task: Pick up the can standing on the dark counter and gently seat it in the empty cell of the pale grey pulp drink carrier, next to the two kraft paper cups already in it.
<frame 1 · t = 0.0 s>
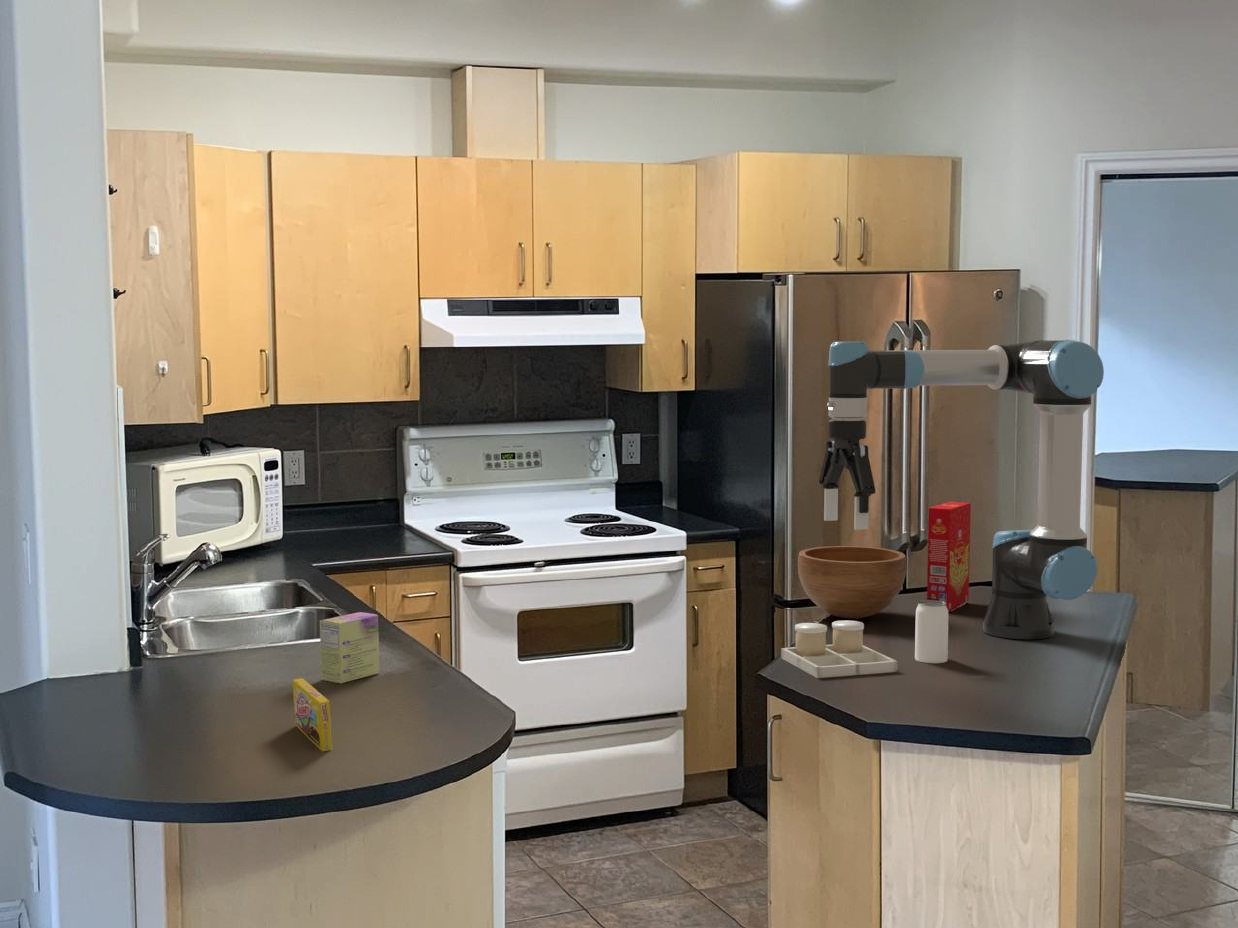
hand: (845, 524, 272), 28 cm above the countertop, fingers open, 13 cm apart
box: (350, 678, 263), on the countertop
carrier: (838, 666, 271), on the countertop
candy box: (312, 739, 223), on the countertop
bowl: (850, 618, 318), on the countertop
paper cup A: (847, 658, 276), resting on carrier
paper cup C: (810, 661, 273), resting on carrier
can: (931, 662, 275), on the countertop
food packaging: (947, 608, 330), on the countertop
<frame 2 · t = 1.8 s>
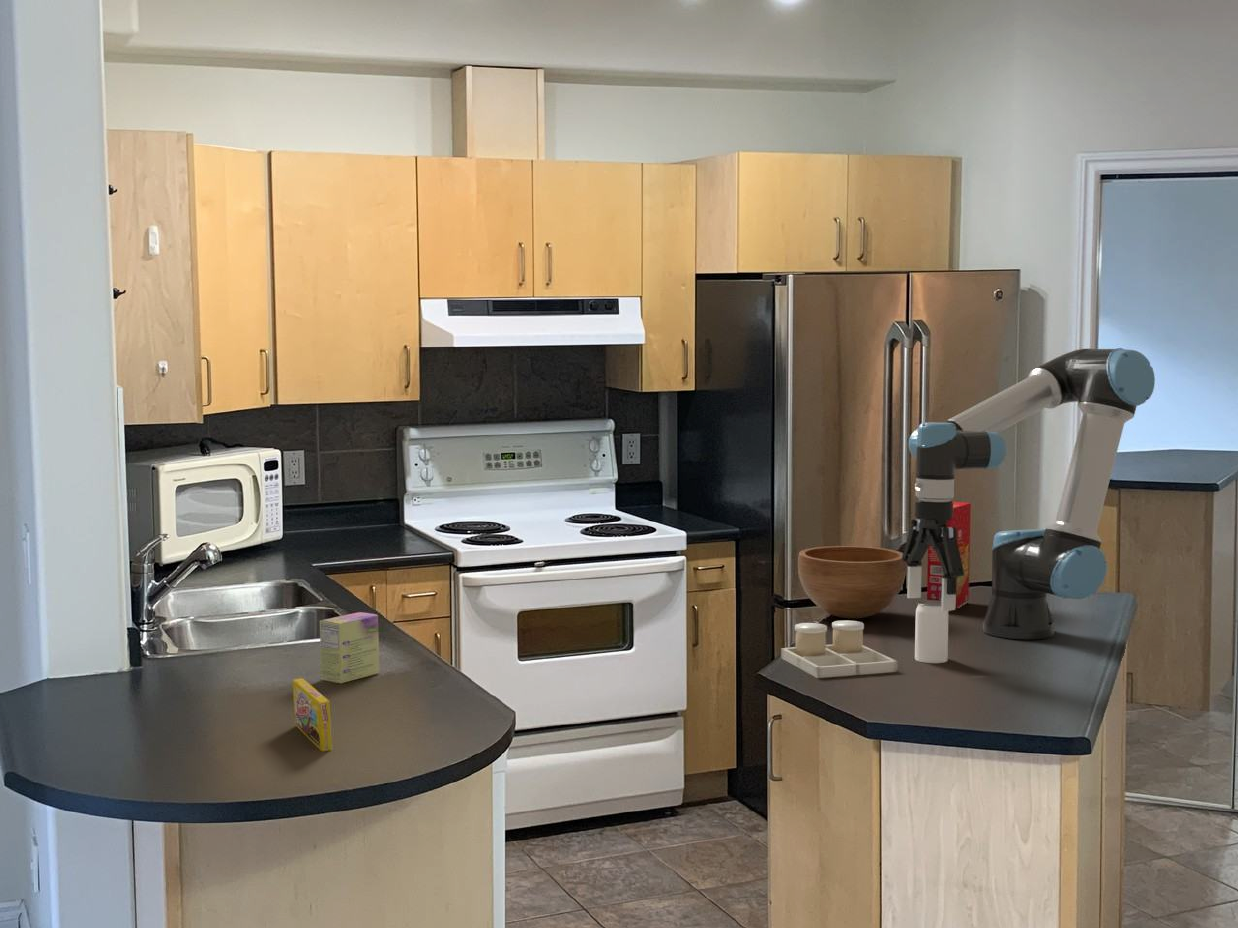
hand: (930, 604, 274), 12 cm above the countertop, fingers open, 13 cm apart
nothing on the countertop moved.
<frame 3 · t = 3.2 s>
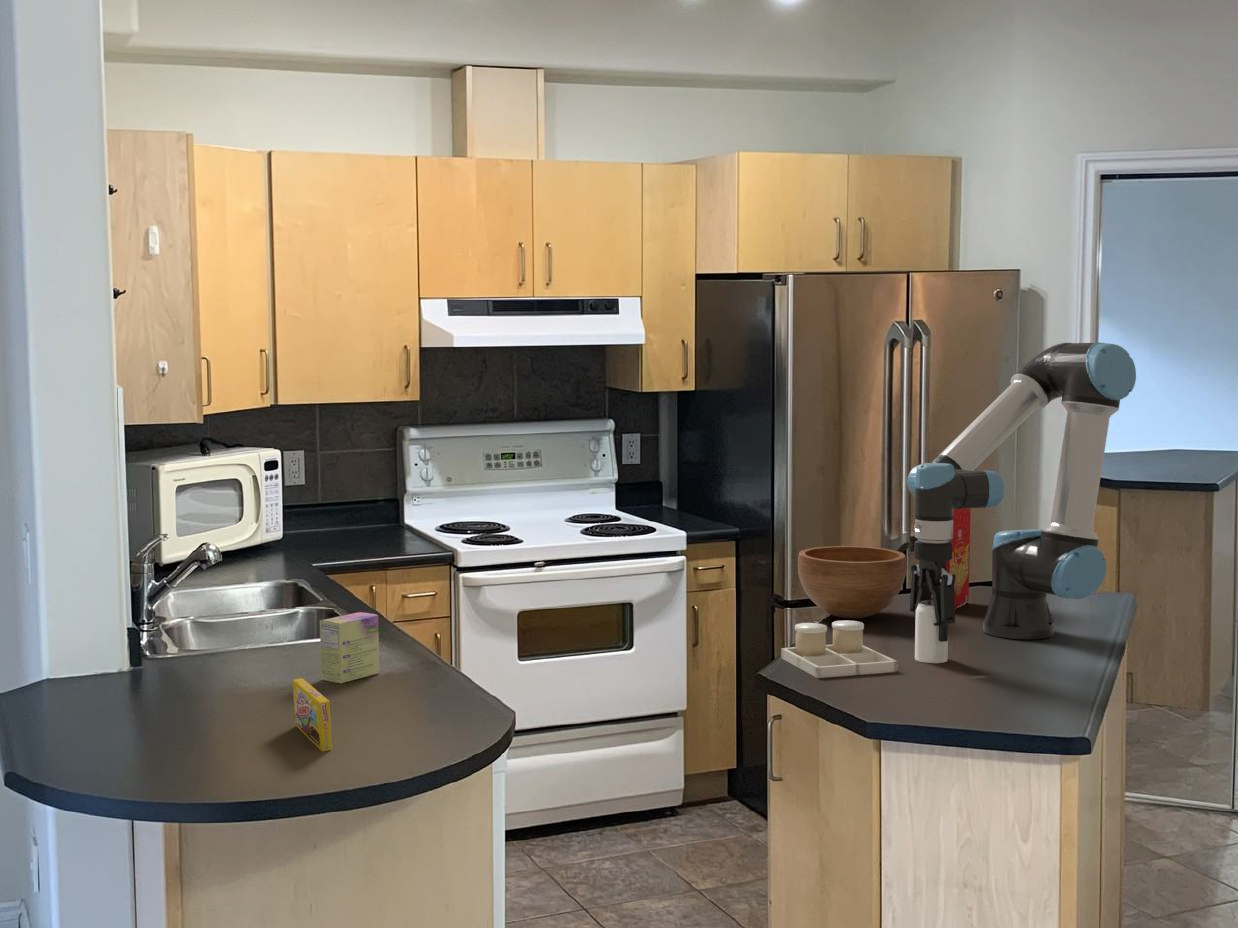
hand: (931, 652, 275), 2 cm above the countertop, fingers closed on can, 6 cm apart
can: (931, 662, 275), on the countertop, touching gripper
everything else where it was.
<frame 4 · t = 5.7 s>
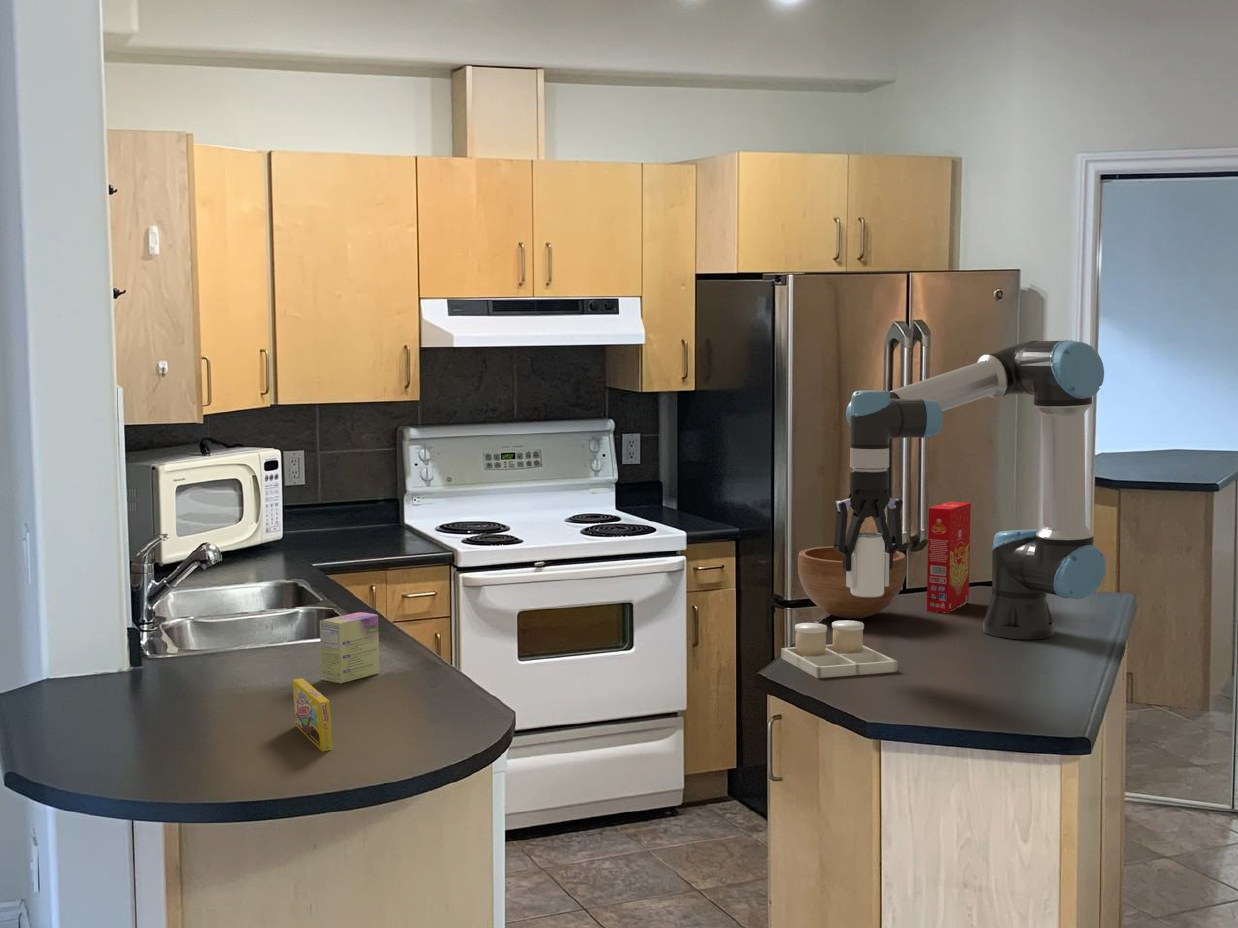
hand: (867, 586, 267), 17 cm above the countertop, fingers closed on can, 6 cm apart
can: (867, 595, 267), point 15 cm above the countertop, touching gripper
everything else where it was.
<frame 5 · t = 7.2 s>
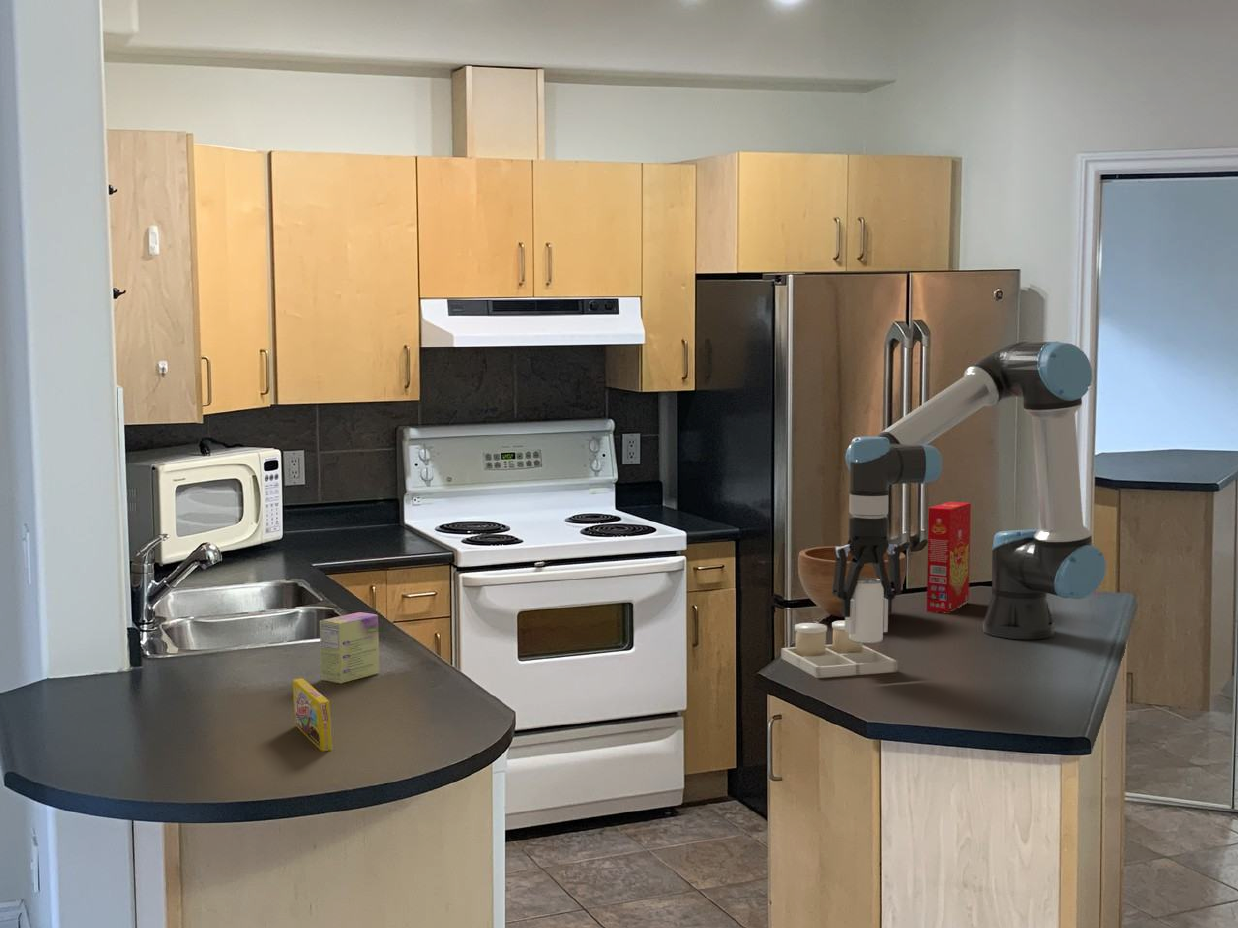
hand: (866, 631, 267), 8 cm above the countertop, fingers closed on can, 6 cm apart
can: (865, 641, 268), point 6 cm above the countertop, touching gripper
everything else where it was.
when the fingers open (4 cm above the countertop, at t = 8.3 s): can drops 2 cm, resting on carrier.
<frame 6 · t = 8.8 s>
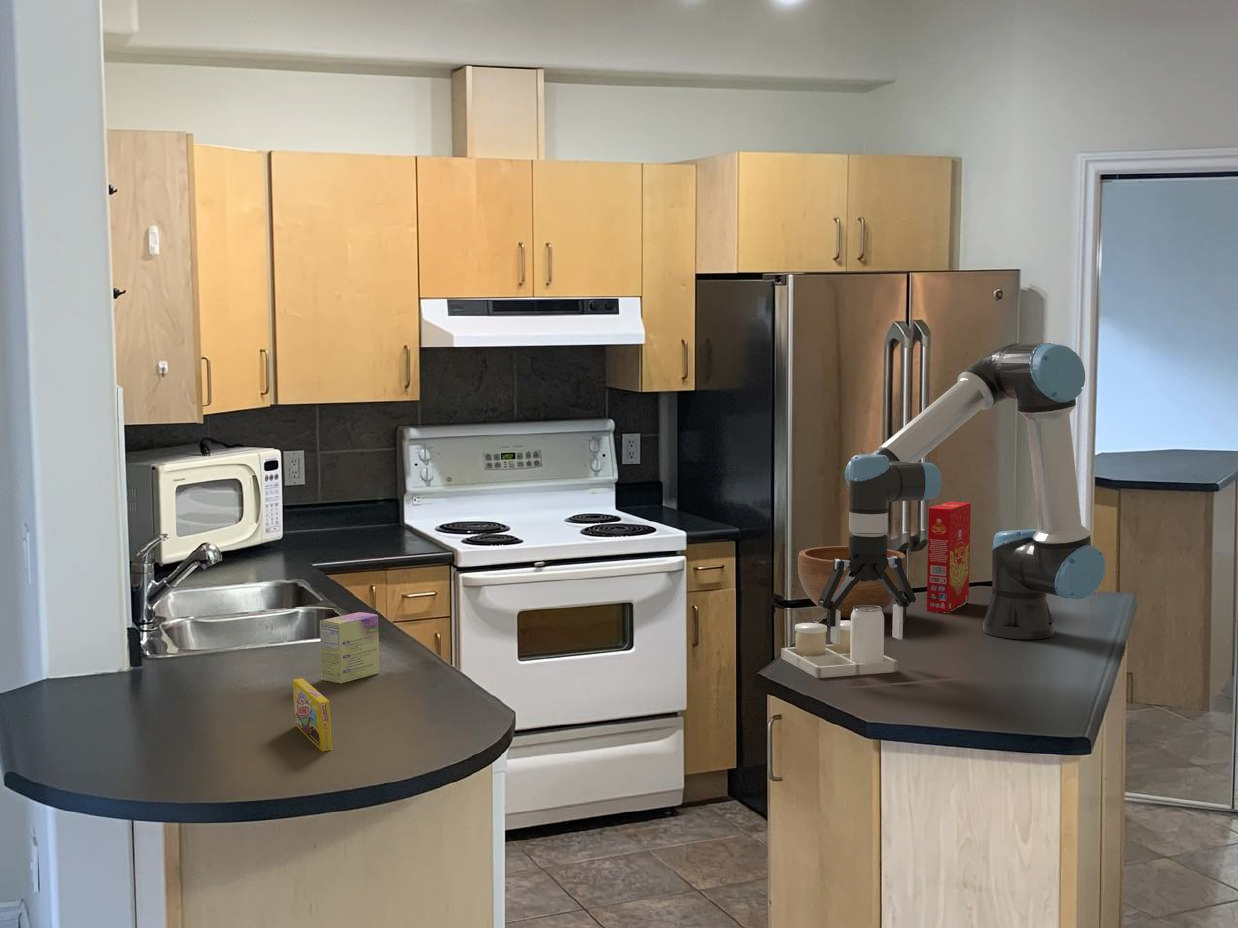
hand: (866, 640, 268), 6 cm above the countertop, fingers open, 13 cm apart
can: (866, 668, 268), resting on carrier
everything else where it was.
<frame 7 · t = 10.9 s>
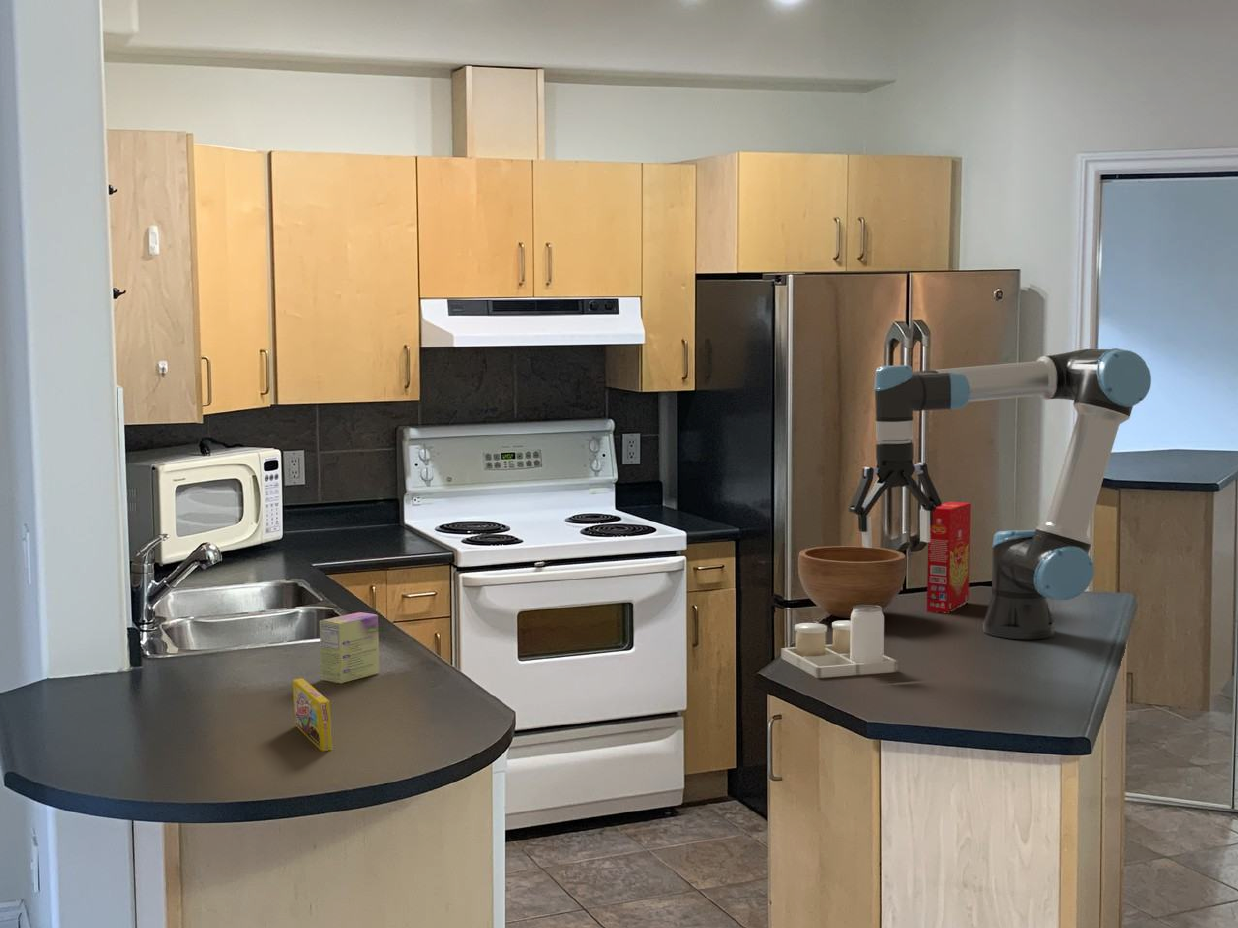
hand: (896, 544, 278), 23 cm above the countertop, fingers open, 13 cm apart
nothing on the countertop moved.
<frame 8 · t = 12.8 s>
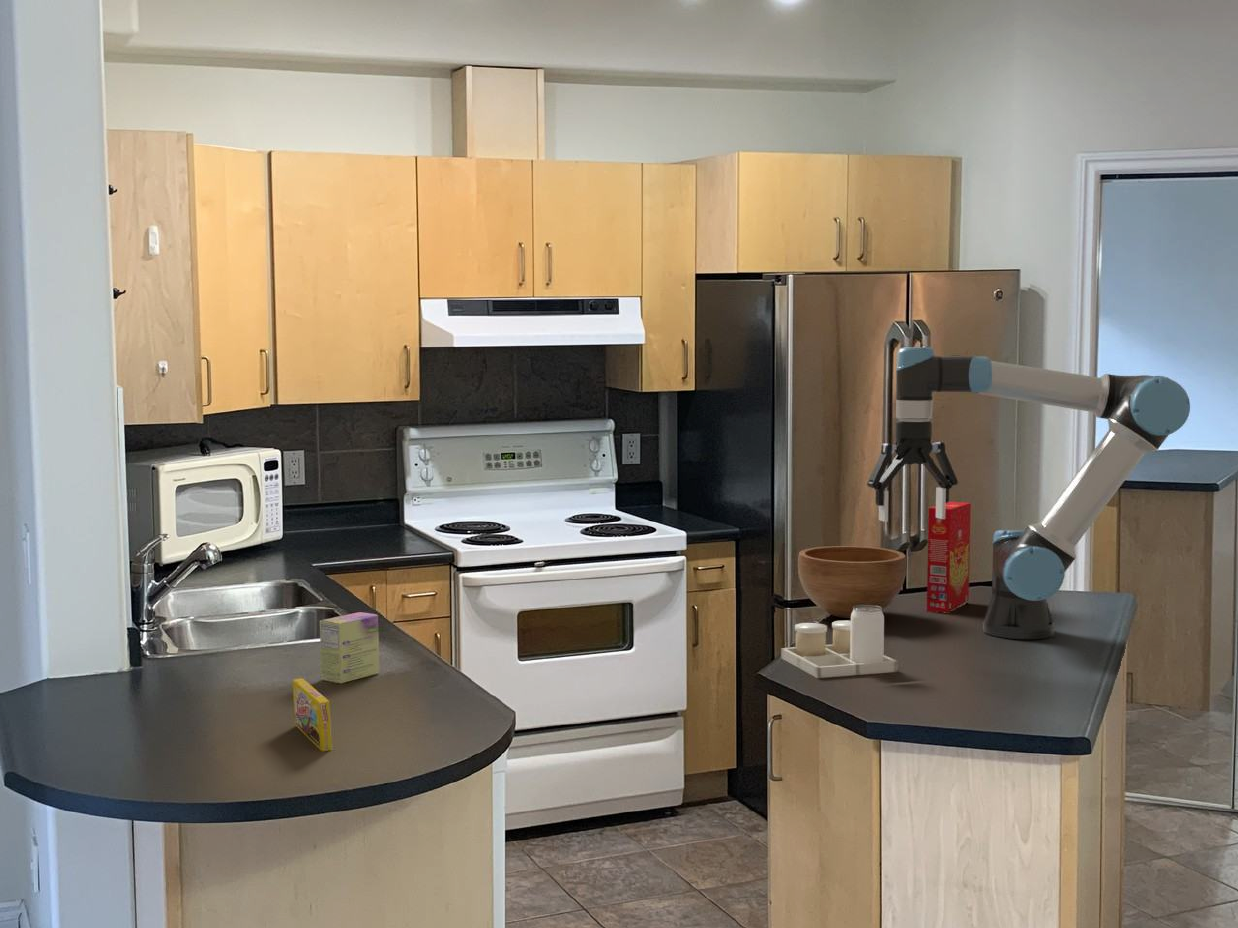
hand: (912, 519, 289), 27 cm above the countertop, fingers open, 13 cm apart
nothing on the countertop moved.
at the end: can 0.1 cm from the target spot on the carrier, point 0.2 cm above the carrier's base; can tilted 0°; the gripper is holding nothing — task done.
